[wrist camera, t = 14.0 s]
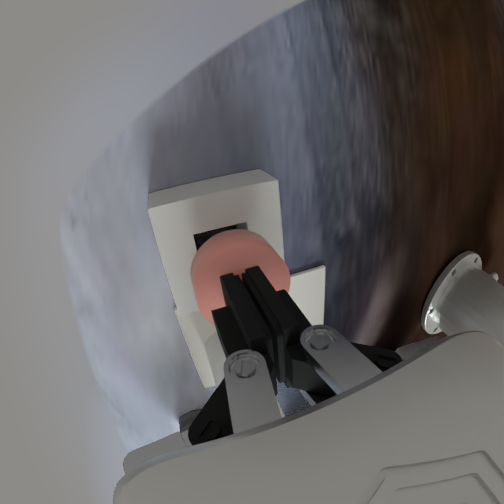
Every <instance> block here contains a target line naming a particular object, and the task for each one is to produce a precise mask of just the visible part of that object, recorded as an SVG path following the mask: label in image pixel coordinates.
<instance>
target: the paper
mask: <svg viewBox="0 0 504 504" xmlns="http://www.w3.org/2000/svg"><path fill="white" fill-rule="evenodd" d="M288 294H289V295H290V297H291V298H292V299H293V301H294V302H295V303H296V305H297V306H298V307H299V309H300V310H301V311H302V313H303V314H304V315H305V317H306V318H307V319H308V321H309V322H310V323H311V325H312V326H313V325H323V319H324V298H325V266H324V265H322V266H318V267H315V268H312V269H309V270H305V271H302V272H299V273H295V274H292V275H290V289H289V292H288ZM174 311H175V314H176V317H177V320H178V322H179V325H180V328H181V331H182V333H183V336H184V339H185V341H186V344H187V347H188V349H189V352H190V354H191V357H192V360H193V362H194V365H195V367H196V370H197V372H198V374H199V377H200V379H201V382H202V384H203V386H204V389H205V388H209V387H213V386H216V385H215V381H214V378H213V375H212V371H211V368H210V365H209V361H208V358H207V354H206V351H205V344H206V342H207V340H208V339H209V337H210V336H211V335H213V334H214V333H216V332H217V331H216V327H215V325H214V324H212V323H211V322H209V321H208V320H207V319H206V318H205V317H204V316H203V315H202V313H201V311H200V310H199V311H195V312H192V313H188V314H184V315H179V313H178V310H177V307H174Z"/></svg>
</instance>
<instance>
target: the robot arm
mask: <svg viewBox="0 0 504 504" xmlns="http://www.w3.org/2000/svg"><path fill="white" fill-rule="evenodd" d="M241 275H242V280H241V279H240V277H239V275H234V274H233V273H228V274H225V275H221V276H220V282H221V286H222V291H223V296H224V301H225V305H226V306H225V307H222V308H218V309H215V310H211V312H212V316H213V320H214V324H215V327H216V331H217V334H218V337H219V340H220V343H221V346H222V348H223V351H224V354H225V357H226V360H225V362H224V368H223V369H224V376H225V377H224V379H223V380H222V381H221V383H220V384H219V386H218V387H217V389H216V390H215V391H214V393H213V394H212V396H211V397H210V399H209V400H208V401H207V403H206V404H205V406H204V407H203V408H202V410H201V411H200V413H199V414H198V415H197V417H196V418H195V420H194V421H193V422H192V424H191V425H190V427H189V429H188V430H186V431H184V432H182V433H179V432H176V433H174V434H171V435H169V436H167V437H165V438H162V439H160V440H158V441H155V442H153V443H150V444H148V445H146V446H143V447H141V448H138V449H136V450H133V451H132V452H130V453H128V454H127V456H126V457H125V458H124V462H123V467H124V471H125V475H124V476H123V477H122V478H121V479H120V480H119V481H118V483H117V485H116V487H115V490H114V494H113V504H504V287H503V286H502V285H500V284H499V283H498V282H497V280H498V274H497V273H495V272H493V273H492V274H490V275H488V274H487V273H485V272H484V271H483V270H482V262H481V258H480V256H479V255H478V254H476V253H475V252H473V251H466V252H463V253H461V254H460V255H458V256H457V257H456V258H454V259H453V260H452V261H451V262H450V263H449V264H448V266H447V267H446V268H445V269H444V270H443V272H442V273H441V274H440V276H439V277H438V279H437V280H436V282H435V284H434V285H433V287H432V289H431V291H430V292H429V294H428V297H427V299H426V301H425V304H424V307H423V310H422V315H421V325H422V327H423V329H424V330H425V331H426V332H428V333H429V334H436V333H439V332H441V331H443V332H445V333H446V334H447V335H448V336H447V337H445V338H441V337H432V338H429V339H426V340H423V341H419V342H416V343H413V344H410V345H406V346H403V347H400V348H397V350H396V351H392V350H389V349H384V348H379V347H373V346H368V345H362V344H357V343H352V342H349V341H348V340H346V339H345V338H344V337H343V336H342V335H341V334H340V333H339V332H338V331H336V330H335V329H334V328H332V327H330V326H327V325H313V326H312V325H311V323H310V322H309V321H308V319H307V318H306V317H305V315H304V314H303V313H302V311H301V310H300V309H299V307H298V306H297V305H296V303H295V302H294V301H293V299H292V298H291V297H290V295H289V294H288V292H287V291H286V290H284V289H282V290H279V291H276V290H275V289H274V287H273V286H272V284H271V283H270V281H269V280H268V279H267V277H266V276H265V274H264V273H263V271H262V270H261V269H260V267H259V266H258V265H257V266H254V267H250V268H247V269H245V273H242V274H241ZM276 377H277V379H278V381H279V382H280V383H281V382H284V383H285V385H286V387H287V388H289V387H293V388H297V389H300V392H301V393H302V395H303V396H304V398H305V399H306V400H307V401H308V402H309V404H310V405H311V407H308V408H306V409H303V410H301V411H298V412H296V413H293V414H291V415H288V416H286V417H283V418H282V417H281V413H280V410H279V406H278V403H277V399H276V395H277V393H278V392H277V381H276Z"/></svg>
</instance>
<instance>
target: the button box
mask: <svg viewBox="0 0 504 504" xmlns="http://www.w3.org/2000/svg"><path fill="white" fill-rule="evenodd" d="M148 213H149V217H150V221H151V224H152V228H153V232H154V235H155V239H156V242H157V246H158V249H159V253H160V256H161V260H162V263H163V266H164V269H165V273H166V276H167V279H168V282H169V285H170V289H171V292H172V295H173V298H174V301H175V304H176V307H177V310H178V313H179V315H184V314H188V313H192V312H195V311H199V307H198V304H197V300H196V297H195V293H194V289H193V285H192V282H191V277H190V270H191V264H192V260H193V258H194V256H195V254H196V252H197V249H196V245H195V241H194V236H193V235H194V234H198V233H202V232H206V231H210V230H214V229H219V228H223V227H227V226H231V225H235V224H236V227H237V229H244V230H249V231H252V232H255V233H257V234H259V235H261V236H262V237H263V238H265V239H266V240H267V242H268V243H269V244H270V245H271V246H272V247H273V249H274V250H275V251H276V252H277V253H278V255H279V256H280V257H281V258H282V259H283V261H284V248H283V235H282V222H281V209H280V197H279V185H278V180H277V179H276V178H274V177H272V176H271V175H269V174H267V173H266V172H264V171H262V170H261V169H256V170H251V171H246V172H241V173H236V174H230V175H226V176H221V177H216V178H211V179H207V180H202V181H198V182H193V183H189V184H185V185H180V186H176V187H172V188H168V189H164V190H160V191H156V192H152V193H148Z"/></svg>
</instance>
